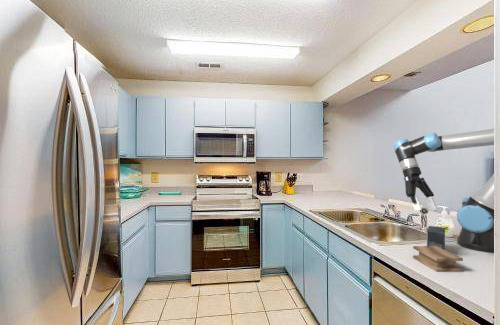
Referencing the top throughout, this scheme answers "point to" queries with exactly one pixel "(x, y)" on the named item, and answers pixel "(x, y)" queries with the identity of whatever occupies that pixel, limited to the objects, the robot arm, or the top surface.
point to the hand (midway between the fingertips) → (426, 210)
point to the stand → (437, 259)
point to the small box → (436, 237)
